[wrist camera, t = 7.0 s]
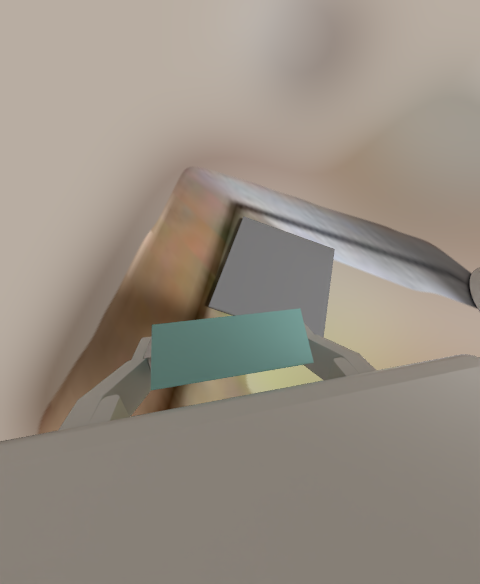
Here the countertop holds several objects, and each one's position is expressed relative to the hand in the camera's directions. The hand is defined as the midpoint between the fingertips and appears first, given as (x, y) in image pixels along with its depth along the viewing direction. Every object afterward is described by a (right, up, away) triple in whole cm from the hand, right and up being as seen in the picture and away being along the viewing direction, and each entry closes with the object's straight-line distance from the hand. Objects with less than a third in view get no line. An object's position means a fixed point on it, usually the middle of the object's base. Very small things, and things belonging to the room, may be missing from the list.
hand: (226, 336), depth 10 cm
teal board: (-1, -2, +5) cm, 5 cm away
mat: (+6, +5, +16) cm, 18 cm away
